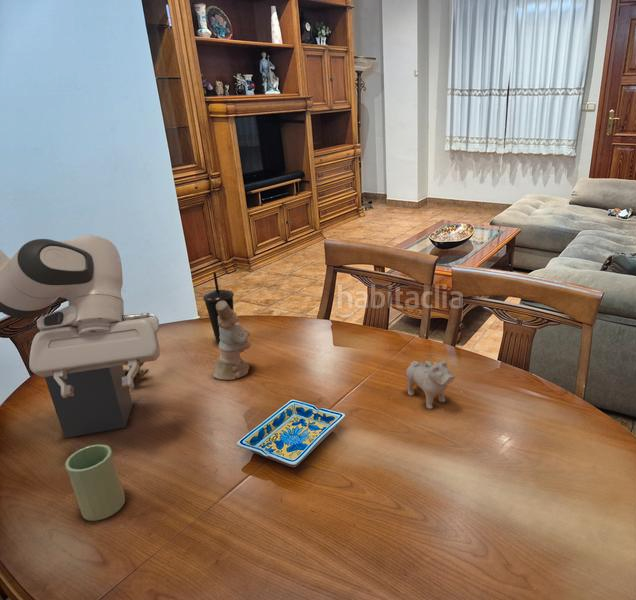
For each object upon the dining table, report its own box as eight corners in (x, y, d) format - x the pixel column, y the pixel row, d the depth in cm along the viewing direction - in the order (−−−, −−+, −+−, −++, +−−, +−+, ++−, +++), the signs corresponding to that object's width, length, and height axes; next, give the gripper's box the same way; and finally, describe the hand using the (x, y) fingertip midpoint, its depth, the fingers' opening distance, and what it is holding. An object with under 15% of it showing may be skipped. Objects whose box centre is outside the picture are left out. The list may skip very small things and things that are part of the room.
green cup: (77, 525, 81) (59, 475, 77) (87, 496, 87) (71, 448, 83) (121, 515, 83) (106, 466, 79) (128, 488, 88) (114, 440, 85)
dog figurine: (441, 418, 105) (442, 373, 101) (402, 391, 115) (401, 349, 110) (459, 408, 108) (461, 364, 104) (420, 383, 118) (420, 342, 113)
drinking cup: (210, 350, 135) (197, 279, 127) (212, 337, 142) (200, 269, 134) (240, 346, 137) (229, 275, 129) (240, 333, 144) (230, 266, 136)
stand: (64, 438, 102) (41, 368, 95) (76, 413, 110) (55, 346, 103) (125, 427, 104) (106, 358, 98) (132, 403, 112) (115, 338, 106)
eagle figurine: (161, 378, 120) (156, 356, 126) (137, 362, 115) (133, 340, 122) (134, 399, 119) (131, 376, 126) (110, 384, 114) (107, 361, 121)
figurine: (231, 385, 118) (218, 306, 111) (207, 376, 122) (193, 299, 115) (260, 369, 125) (249, 293, 118) (236, 360, 129) (224, 287, 122)
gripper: (161, 317, 100) (165, 386, 95) (41, 332, 94) (39, 406, 89) (154, 305, 94) (158, 377, 89) (26, 320, 89) (23, 398, 84)
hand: (98, 391), depth 89 cm, fingers open, 8 cm apart
